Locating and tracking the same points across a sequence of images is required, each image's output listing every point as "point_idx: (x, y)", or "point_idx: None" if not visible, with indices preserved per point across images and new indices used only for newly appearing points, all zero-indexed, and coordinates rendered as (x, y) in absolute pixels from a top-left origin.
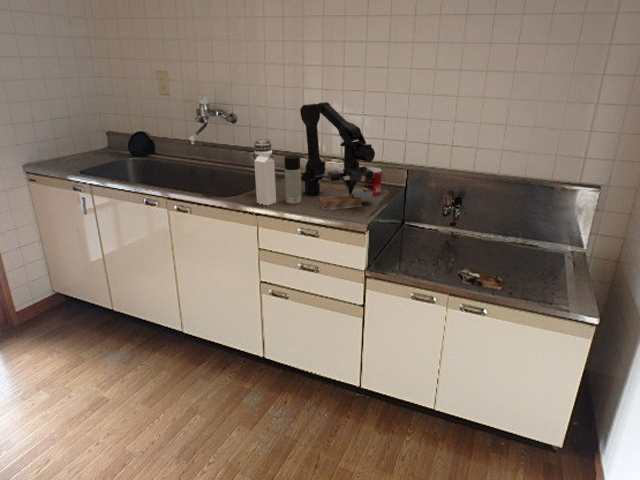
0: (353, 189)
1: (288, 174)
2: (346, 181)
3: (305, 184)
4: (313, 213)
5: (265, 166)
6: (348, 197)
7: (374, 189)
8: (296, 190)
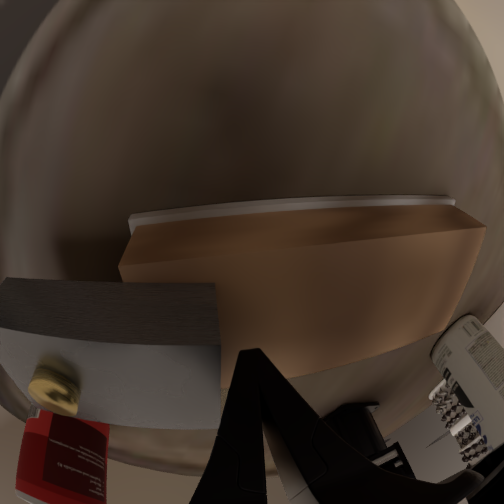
0: (198, 421)
1: None
2: (460, 485)
3: (382, 438)
4: (492, 168)
5: None
6: (271, 317)
7: (48, 413)
8: (495, 355)
